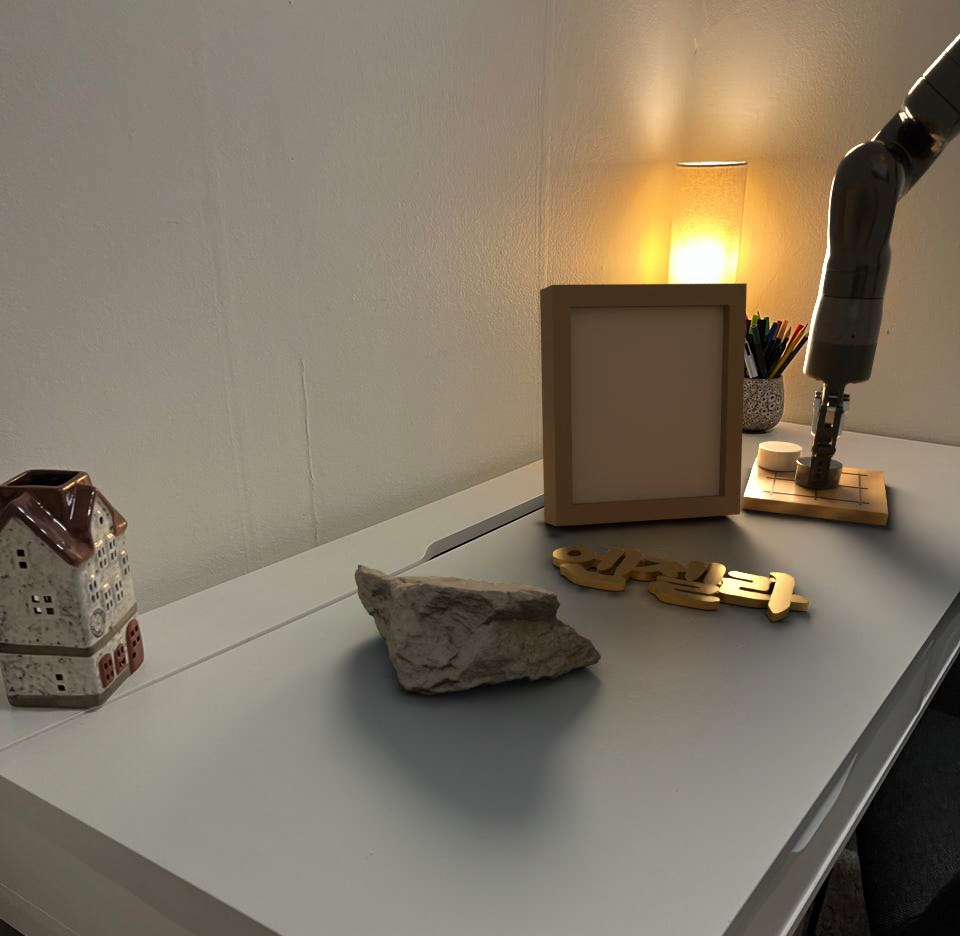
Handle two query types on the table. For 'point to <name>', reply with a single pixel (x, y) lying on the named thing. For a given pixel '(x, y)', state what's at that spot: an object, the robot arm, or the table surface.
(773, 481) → the game board
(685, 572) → the lettering
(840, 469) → the black stone
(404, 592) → the fossil stone
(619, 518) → the photo frame
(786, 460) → the white stone
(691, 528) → the table surface
